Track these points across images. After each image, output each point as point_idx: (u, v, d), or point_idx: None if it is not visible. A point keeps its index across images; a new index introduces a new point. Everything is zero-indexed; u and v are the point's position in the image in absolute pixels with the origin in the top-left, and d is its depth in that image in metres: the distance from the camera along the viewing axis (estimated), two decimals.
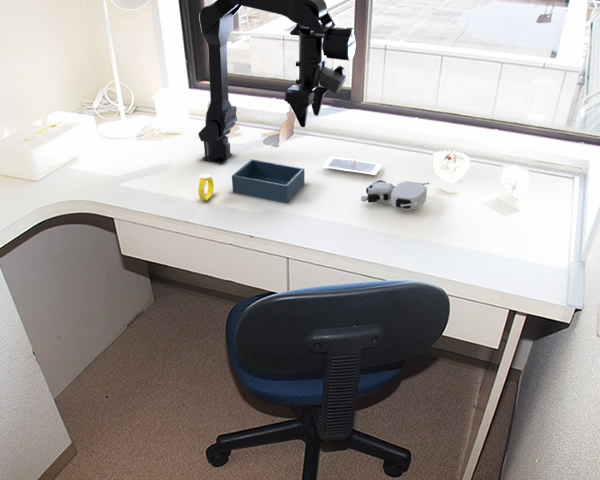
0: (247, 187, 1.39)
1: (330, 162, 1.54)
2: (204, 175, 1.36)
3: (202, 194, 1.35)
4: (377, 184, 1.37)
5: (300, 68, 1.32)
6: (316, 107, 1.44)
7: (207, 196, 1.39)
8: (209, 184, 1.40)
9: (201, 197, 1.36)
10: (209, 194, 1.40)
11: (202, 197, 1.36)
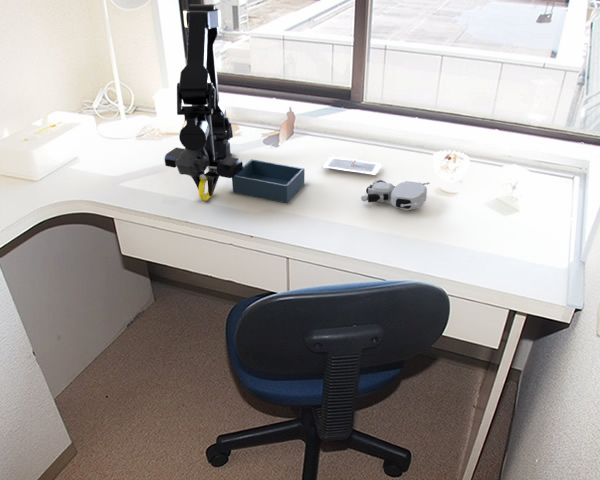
0: (247, 187, 1.39)
1: (330, 162, 1.54)
2: None
3: (202, 194, 1.35)
4: (377, 184, 1.37)
5: None
6: None
7: (207, 196, 1.39)
8: None
9: (201, 197, 1.36)
10: None
11: (202, 197, 1.36)
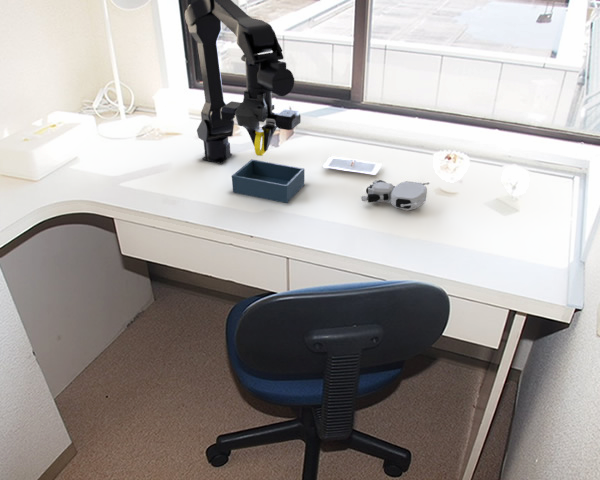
0: (247, 187, 1.39)
1: (330, 162, 1.54)
2: (260, 129, 1.34)
3: (258, 148, 1.33)
4: (377, 184, 1.37)
5: None
6: None
7: (261, 152, 1.37)
8: (263, 140, 1.38)
9: (257, 152, 1.34)
10: (263, 150, 1.38)
11: (258, 152, 1.34)
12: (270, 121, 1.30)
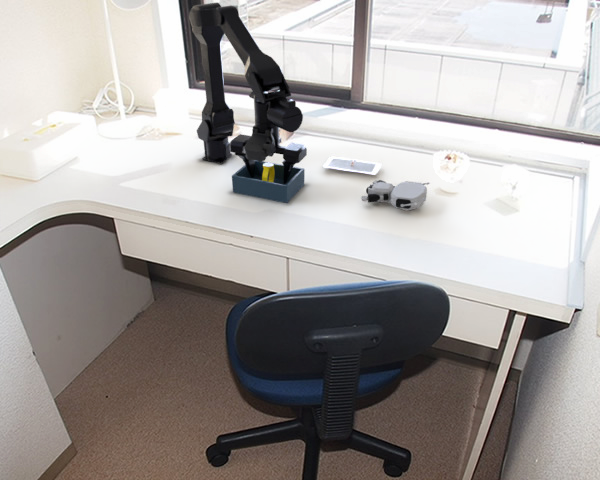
0: (247, 187, 1.39)
1: (330, 162, 1.54)
2: (267, 164, 1.40)
3: None
4: (377, 184, 1.37)
5: None
6: None
7: None
8: (270, 173, 1.44)
9: None
10: None
11: None
12: None
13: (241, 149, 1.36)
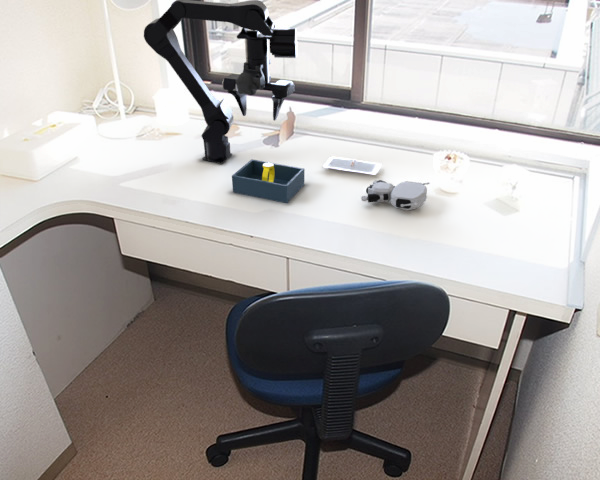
0: (247, 187, 1.39)
1: (330, 162, 1.54)
2: (267, 164, 1.40)
3: None
4: (377, 184, 1.37)
5: None
6: None
7: None
8: (270, 173, 1.44)
9: None
10: None
11: None
12: None
13: (233, 86, 1.45)
